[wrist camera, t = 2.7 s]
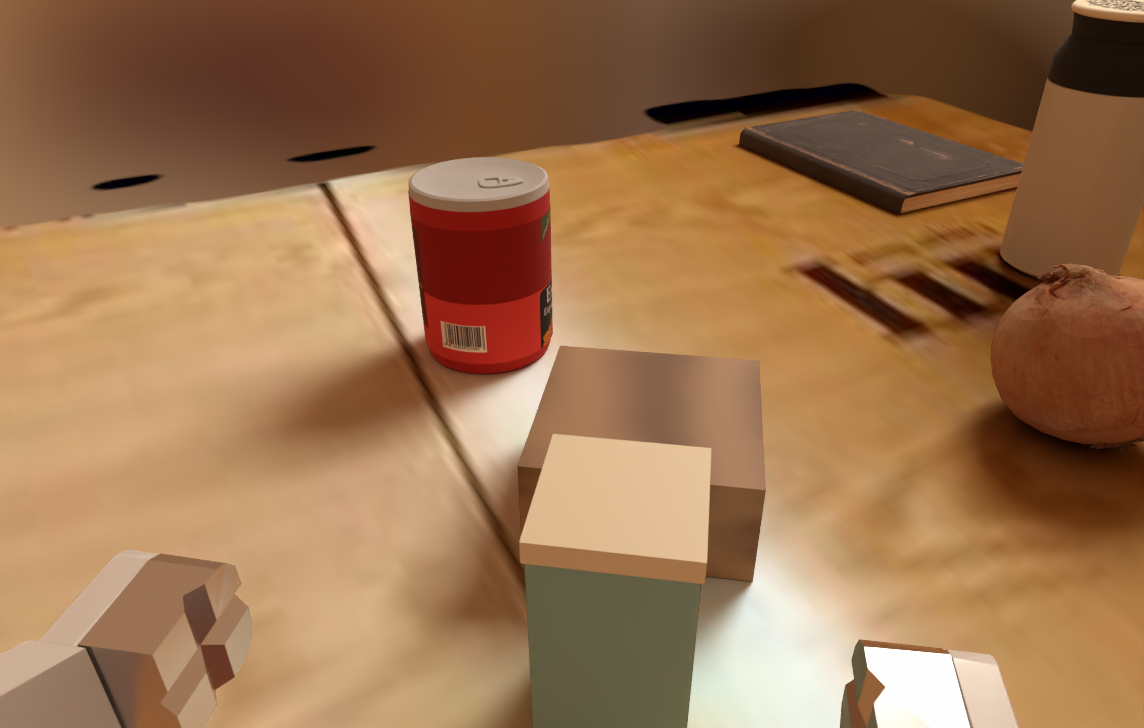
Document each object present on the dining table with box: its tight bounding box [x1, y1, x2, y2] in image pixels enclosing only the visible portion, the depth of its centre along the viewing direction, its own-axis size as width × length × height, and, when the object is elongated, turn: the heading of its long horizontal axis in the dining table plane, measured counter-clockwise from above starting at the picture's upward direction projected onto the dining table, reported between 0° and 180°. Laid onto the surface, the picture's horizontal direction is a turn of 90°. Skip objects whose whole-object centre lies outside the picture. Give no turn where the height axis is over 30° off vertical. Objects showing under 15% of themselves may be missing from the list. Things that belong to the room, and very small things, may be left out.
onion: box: [991, 263, 1144, 450], centre depth 43 cm, size 10×9×10 cm
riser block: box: [518, 346, 766, 582], centre depth 39 cm, size 10×10×5 cm
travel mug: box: [1000, 0, 1144, 277], centre depth 58 cm, size 8×8×18 cm
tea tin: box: [519, 434, 711, 728], centre depth 28 cm, size 5×5×10 cm
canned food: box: [408, 157, 553, 374], centre depth 50 cm, size 8×8×11 cm
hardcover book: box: [739, 110, 1024, 215], centre depth 83 cm, size 16×23×2 cm
